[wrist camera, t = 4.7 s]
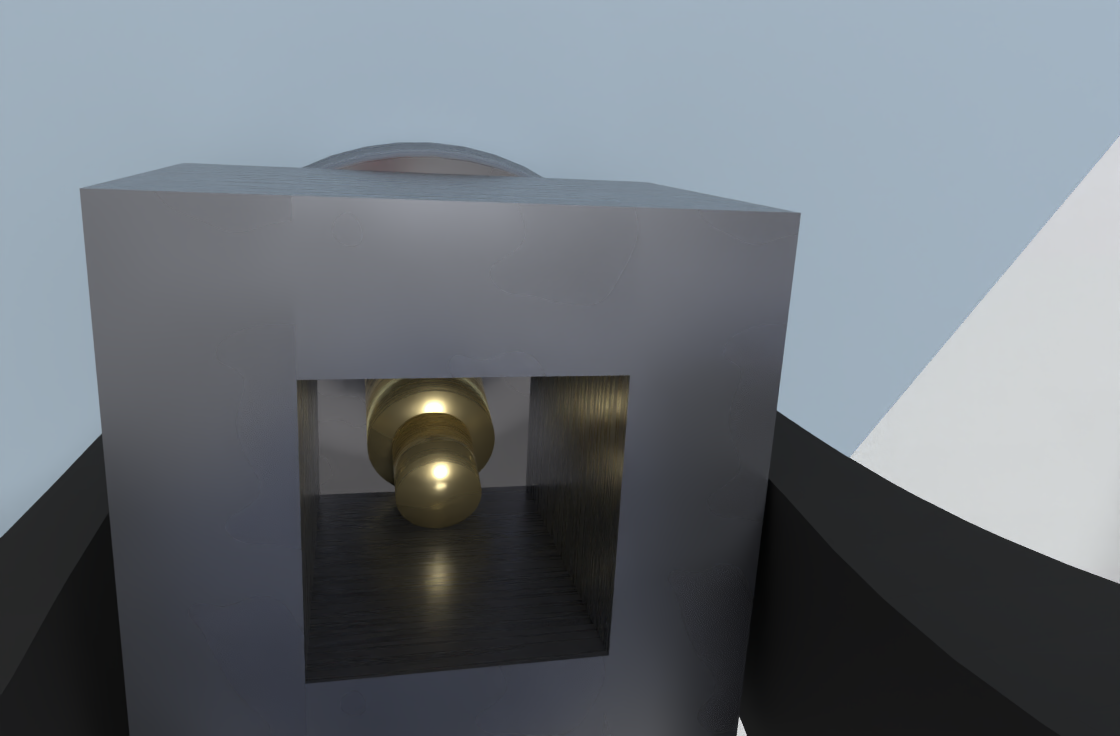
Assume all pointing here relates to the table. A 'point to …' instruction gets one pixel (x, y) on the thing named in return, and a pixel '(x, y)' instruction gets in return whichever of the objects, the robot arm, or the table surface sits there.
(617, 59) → the board
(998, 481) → the table surface
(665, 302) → the collar
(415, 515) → the hub
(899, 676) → the robot arm
